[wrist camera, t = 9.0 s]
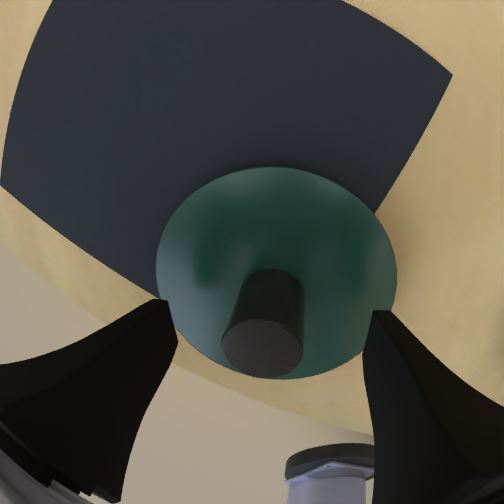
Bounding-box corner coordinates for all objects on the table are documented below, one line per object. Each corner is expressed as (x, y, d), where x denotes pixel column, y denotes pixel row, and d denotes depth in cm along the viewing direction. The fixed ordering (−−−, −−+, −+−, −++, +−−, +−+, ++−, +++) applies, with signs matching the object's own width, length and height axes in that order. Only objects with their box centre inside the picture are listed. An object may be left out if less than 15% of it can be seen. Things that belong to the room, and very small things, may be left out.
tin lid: (306, 387, 15) (302, 450, 11) (143, 306, 14) (101, 359, 10) (432, 248, 10) (479, 302, 6) (220, 117, 10) (172, 110, 6)
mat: (267, 351, 14) (266, 355, 14) (2, 183, 13) (-1, 185, 13) (450, 75, 7) (453, 74, 7) (79, -38, 6) (76, -39, 6)
